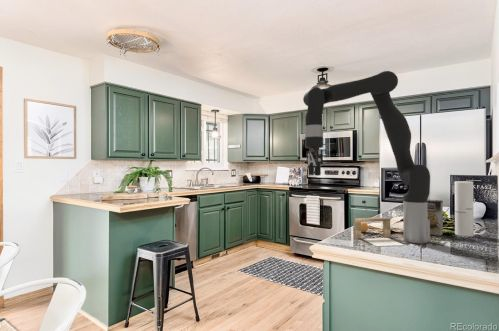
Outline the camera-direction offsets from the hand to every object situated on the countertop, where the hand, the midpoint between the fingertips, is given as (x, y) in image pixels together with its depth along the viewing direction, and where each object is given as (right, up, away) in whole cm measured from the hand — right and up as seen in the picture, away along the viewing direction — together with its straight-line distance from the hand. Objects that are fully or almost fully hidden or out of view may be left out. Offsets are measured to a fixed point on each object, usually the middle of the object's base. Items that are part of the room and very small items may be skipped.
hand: (314, 175), depth 126 cm
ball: (+29, -27, +23) cm, 46 cm away
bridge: (+29, -29, +12) cm, 43 cm away
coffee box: (+61, -29, +19) cm, 70 cm away
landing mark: (+30, -29, +3) cm, 42 cm away
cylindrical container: (+74, -29, +16) cm, 81 cm away
